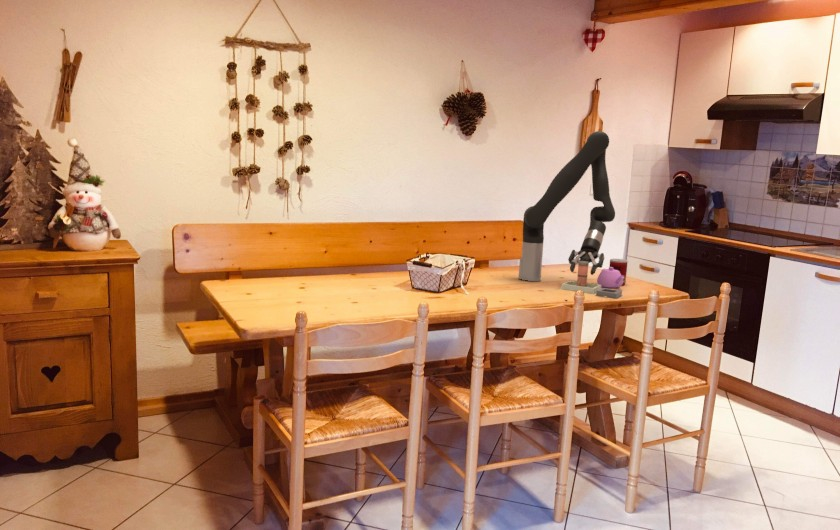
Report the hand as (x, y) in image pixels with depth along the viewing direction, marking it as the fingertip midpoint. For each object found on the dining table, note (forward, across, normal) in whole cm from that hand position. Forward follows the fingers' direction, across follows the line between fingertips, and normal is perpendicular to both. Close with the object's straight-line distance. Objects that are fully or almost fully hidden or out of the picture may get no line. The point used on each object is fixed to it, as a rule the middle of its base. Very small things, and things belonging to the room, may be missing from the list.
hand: (581, 272), depth 296 cm
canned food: (-15, +7, +28) cm, 32 cm away
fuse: (+4, 0, +6) cm, 8 cm away
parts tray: (+5, 0, +7) cm, 9 cm away
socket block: (+8, +13, +4) cm, 16 cm away
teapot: (-6, +8, +18) cm, 21 cm away
